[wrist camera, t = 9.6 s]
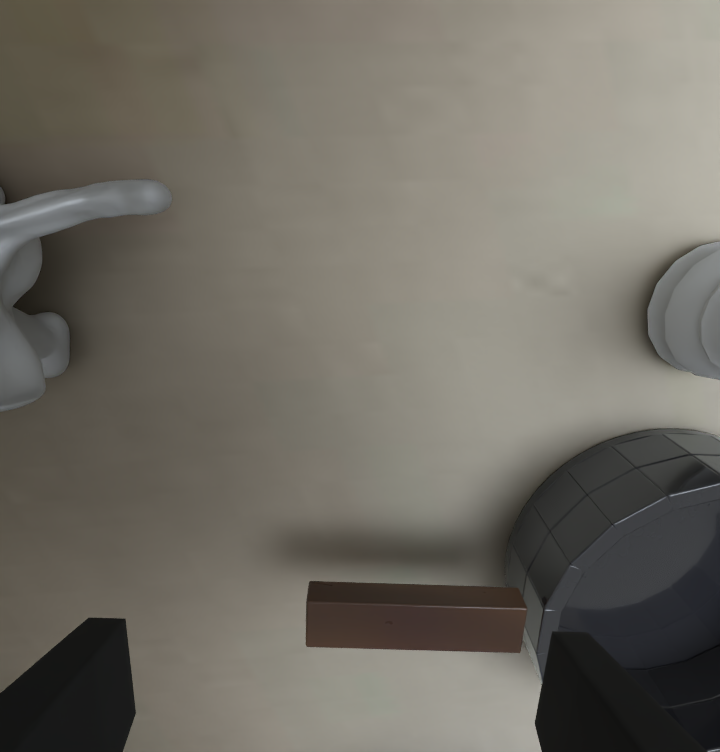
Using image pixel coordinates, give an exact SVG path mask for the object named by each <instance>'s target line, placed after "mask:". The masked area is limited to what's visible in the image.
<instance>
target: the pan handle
mask: <svg viewBox="0 0 720 752" xmlns="http://www.w3.org/2000/svg"><path fill="white" fill-rule="evenodd" d="M526 615H527V606H526V604H525V602H524V599H523V597H522V595H521V592H520V590H519V588H516V587H484V586H451V585H419V584H387V583H355V582H323V581H310V582H309V586H308V594H307V601H306V646H307V647H329V648H364V649H399V650H434V651H468V652H503V653H520V651H521V645H522V639H523V633H524V627H525V621H526Z"/></svg>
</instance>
